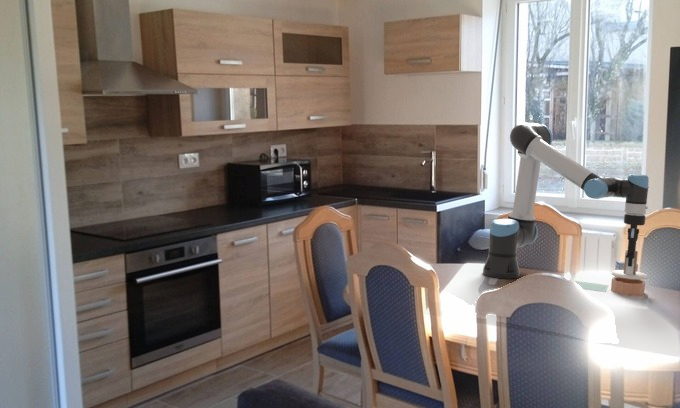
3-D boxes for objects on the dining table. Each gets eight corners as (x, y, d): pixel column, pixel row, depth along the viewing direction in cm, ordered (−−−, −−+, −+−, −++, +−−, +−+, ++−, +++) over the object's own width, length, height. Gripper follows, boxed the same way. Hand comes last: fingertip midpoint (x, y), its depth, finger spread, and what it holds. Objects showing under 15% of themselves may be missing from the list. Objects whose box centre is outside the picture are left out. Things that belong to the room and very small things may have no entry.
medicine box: (633, 282, 292) (635, 261, 291) (636, 284, 288) (638, 264, 287) (613, 280, 293) (615, 260, 292) (616, 283, 289) (618, 262, 288)
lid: (610, 276, 269) (612, 251, 267) (612, 270, 280) (615, 246, 279) (646, 281, 263) (649, 255, 262) (647, 274, 275) (650, 250, 274)
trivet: (570, 288, 276) (570, 287, 276) (575, 282, 287) (575, 280, 287) (605, 293, 270) (605, 292, 270) (608, 286, 282) (608, 285, 282)
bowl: (609, 293, 270) (610, 281, 269) (612, 287, 281) (613, 275, 280) (643, 298, 265) (644, 285, 264) (644, 291, 276) (645, 279, 275)
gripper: (644, 217, 259) (638, 278, 262) (646, 212, 275) (640, 270, 278) (623, 215, 263) (617, 276, 265) (626, 210, 278) (620, 267, 281)
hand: (629, 272), depth 272 cm, fingers closed on lid, 4 cm apart
